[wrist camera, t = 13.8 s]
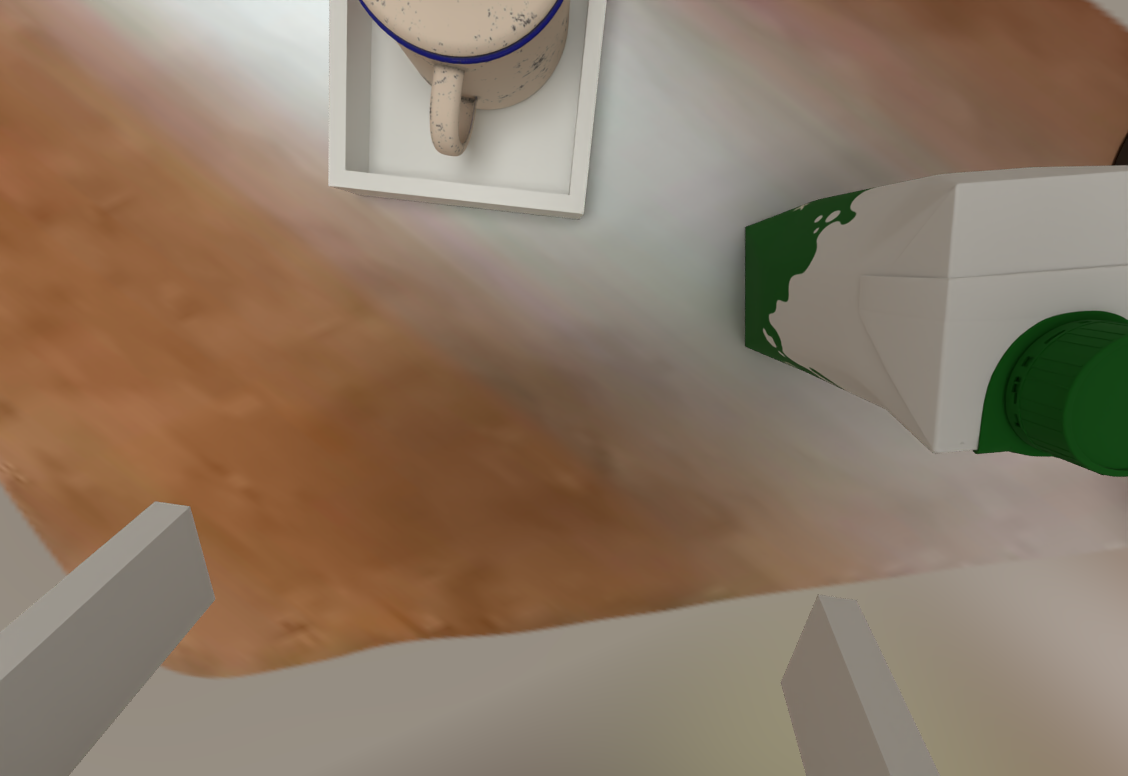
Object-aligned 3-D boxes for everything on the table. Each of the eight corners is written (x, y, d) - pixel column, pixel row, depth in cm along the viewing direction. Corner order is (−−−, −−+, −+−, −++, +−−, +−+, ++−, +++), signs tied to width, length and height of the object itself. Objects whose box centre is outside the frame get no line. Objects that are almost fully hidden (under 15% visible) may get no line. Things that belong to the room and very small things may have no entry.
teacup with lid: (408, -100, 27) (305, -351, 16) (588, -59, 28) (612, -273, 17) (381, 154, 30) (277, 94, 19) (546, 188, 31) (542, 147, 19)
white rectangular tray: (613, -96, 28) (623, -160, 24) (579, 219, 32) (583, 213, 28) (365, -130, 28) (330, -201, 24) (359, 195, 32) (328, 185, 27)
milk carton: (730, 362, 34) (961, 503, 15) (729, 209, 32) (999, 139, 13) (871, 351, 34) (1288, 478, 15) (880, 197, 32) (1380, 110, 13)
